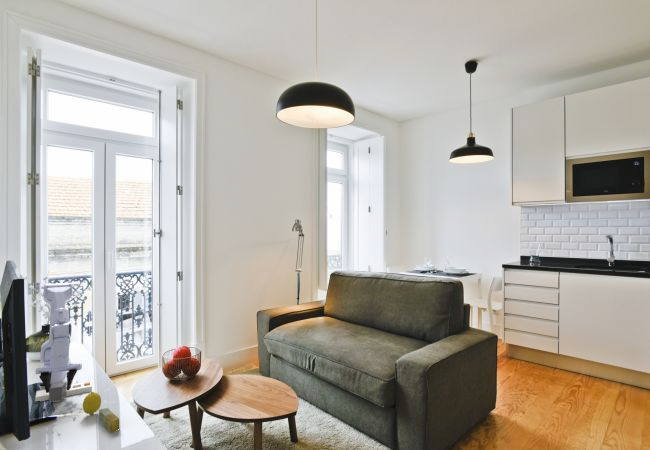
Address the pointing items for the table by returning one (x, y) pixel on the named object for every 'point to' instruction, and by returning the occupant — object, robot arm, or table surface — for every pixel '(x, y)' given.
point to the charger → (57, 391)
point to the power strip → (73, 390)
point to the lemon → (91, 403)
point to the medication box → (109, 419)
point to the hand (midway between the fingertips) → (58, 390)
